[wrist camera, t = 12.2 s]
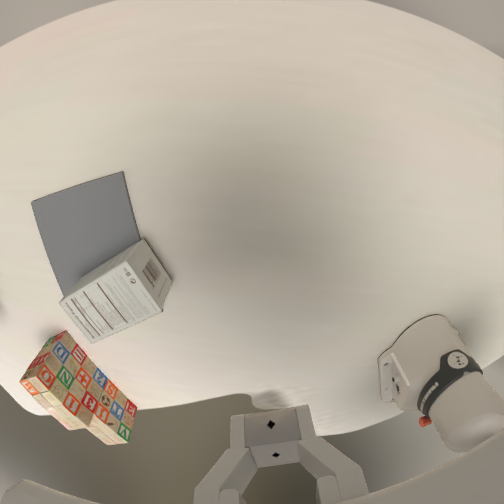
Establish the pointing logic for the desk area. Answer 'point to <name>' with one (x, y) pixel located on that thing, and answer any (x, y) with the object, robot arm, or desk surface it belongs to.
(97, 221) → the mat
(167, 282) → the supplement box
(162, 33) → the desk surface
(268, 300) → the desk surface
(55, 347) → the stack of blocks
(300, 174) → the desk surface
